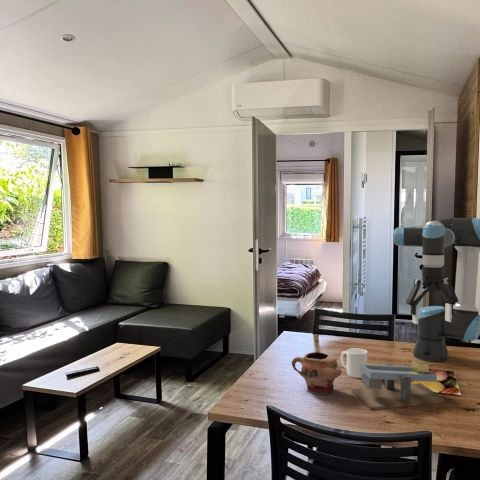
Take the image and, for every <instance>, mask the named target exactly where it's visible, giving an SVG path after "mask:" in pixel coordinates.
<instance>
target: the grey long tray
mask: <svg viewBox="0 0 480 480" xmlns="http://www.w3.org/2000/svg"><path fill="white" fill-rule="evenodd" d="M387 365H388V364H386V365H385V364H384V365H382V364H368V363H367V364H361V365H360V371H361V372H362V378H361V383H362V384H363V385H364V386H365V388H372V389H381V387H383V385H382V384H383V380H385V379H387V380H394V381H397V382H399V384H401V376H406V375H409V376H410V377H411V382H412V381H414V382H431V383H432V382H433V383H436V382H437V376H438V375H437V374H436V373H434V372H432V371H430V370H429V371H428V374H416V373H412V372H410V369H411V366H405V365H403V366H402V365H394V366H387Z"/></svg>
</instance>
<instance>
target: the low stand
mask: <svg viewBox="0 0 480 480" xmlns="http://www.w3.org/2000/svg"><path fill="white" fill-rule="evenodd" d="M386 365H387V366H395V365H394V364H386ZM351 393H352V394H353V395H354V396H355V397H356V398H357V399H358V400H359V401H361V402H362V404H364V405H365V406H366V407H367V408H368V410H370V411H372V410H381V409H382V410H383V409H393V408H402V407H414V406H421V405H434V404H442V403H447V400H446V398H444V397H443V396H441V395H440V394H438V393H437V392H435V391H434V390H432V389H430V388H429V387H428V386H426V385H424V384H423V383H420V382H419V383H418V382H417V383H412V381H411V377H410V376H409V375H406V376H401V383H400V384H397V385H396V384H395V380H387V379H384V386H382V387H381V389H372V388H367V387H362V388H353V389H351Z"/></svg>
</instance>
